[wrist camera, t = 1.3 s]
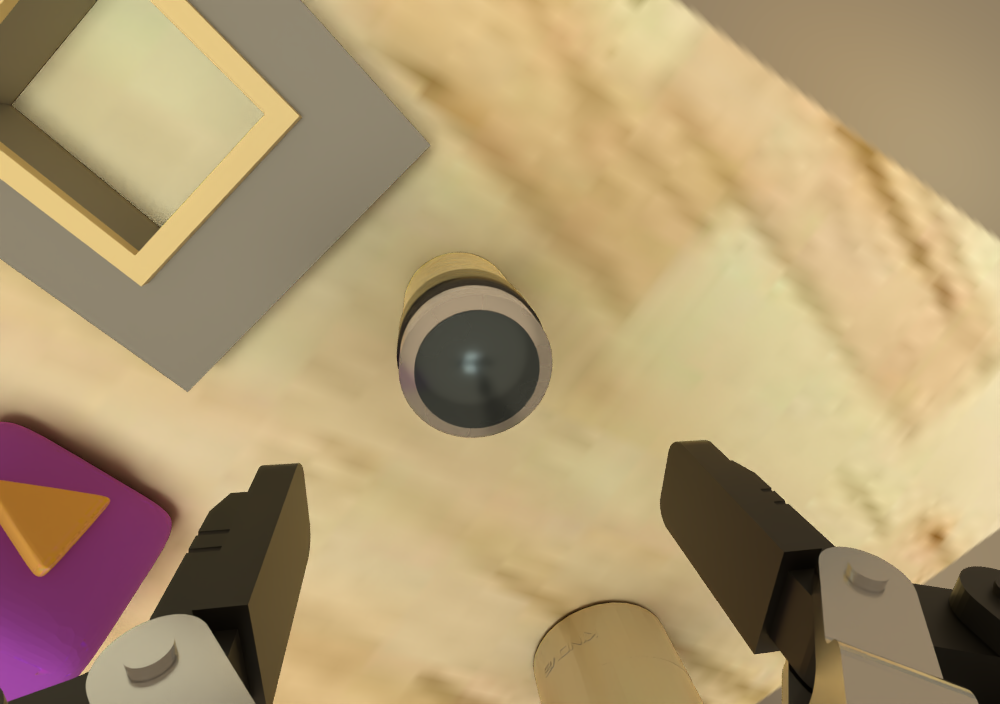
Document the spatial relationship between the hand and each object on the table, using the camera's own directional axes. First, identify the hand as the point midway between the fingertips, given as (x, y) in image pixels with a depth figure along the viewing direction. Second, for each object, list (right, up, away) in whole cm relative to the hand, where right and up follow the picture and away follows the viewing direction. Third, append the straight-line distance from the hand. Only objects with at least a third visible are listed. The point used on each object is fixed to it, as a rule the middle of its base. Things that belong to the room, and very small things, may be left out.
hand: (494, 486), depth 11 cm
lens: (-2, +5, +14) cm, 15 cm away
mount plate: (-13, +12, +9) cm, 20 cm away
